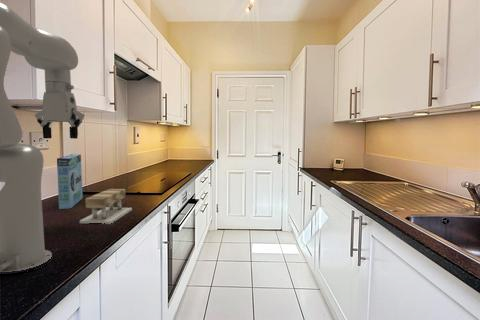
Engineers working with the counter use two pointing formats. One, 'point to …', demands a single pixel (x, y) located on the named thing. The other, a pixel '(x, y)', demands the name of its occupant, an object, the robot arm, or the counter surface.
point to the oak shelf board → (105, 198)
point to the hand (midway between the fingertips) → (60, 138)
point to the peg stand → (106, 214)
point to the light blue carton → (69, 180)
